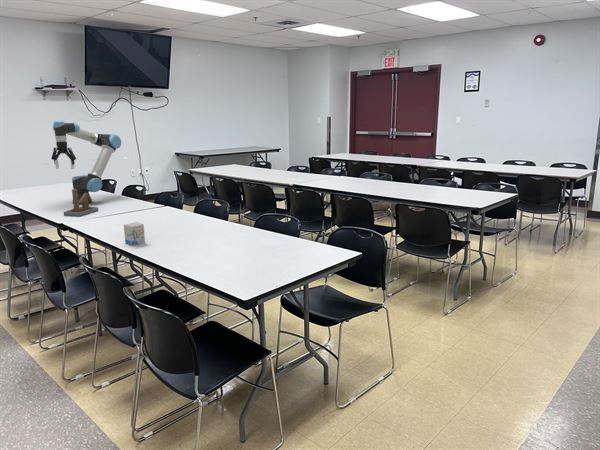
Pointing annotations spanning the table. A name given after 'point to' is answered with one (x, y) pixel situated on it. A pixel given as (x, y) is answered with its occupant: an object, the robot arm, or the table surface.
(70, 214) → the tray
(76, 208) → the brown tapered wooden part
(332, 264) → the table surface
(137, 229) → the ink box
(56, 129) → the robot arm
